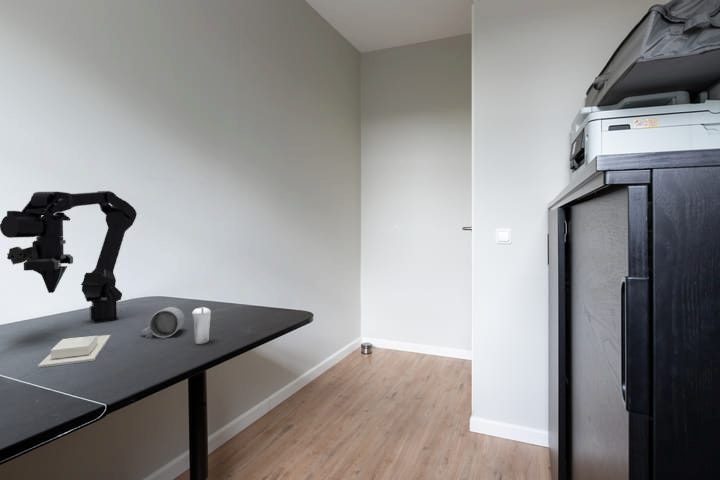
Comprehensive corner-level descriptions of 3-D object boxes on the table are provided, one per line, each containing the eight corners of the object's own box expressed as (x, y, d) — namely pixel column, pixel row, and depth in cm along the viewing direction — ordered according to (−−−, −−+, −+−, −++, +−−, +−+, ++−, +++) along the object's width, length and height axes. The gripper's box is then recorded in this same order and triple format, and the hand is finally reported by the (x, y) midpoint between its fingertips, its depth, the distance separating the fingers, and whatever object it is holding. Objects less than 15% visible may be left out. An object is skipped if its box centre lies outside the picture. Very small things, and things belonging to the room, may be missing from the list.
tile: (62, 339, 90) (50, 350, 82) (97, 335, 93) (88, 346, 85) (63, 348, 90) (50, 360, 82) (97, 344, 93) (88, 355, 85)
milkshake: (193, 346, 93) (192, 307, 93) (192, 340, 98) (191, 303, 97) (212, 344, 95) (211, 306, 95) (210, 338, 100) (209, 302, 99)
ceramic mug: (186, 328, 109) (185, 303, 109) (179, 337, 101) (178, 309, 101) (146, 331, 107) (146, 305, 106) (136, 340, 99) (135, 312, 98)
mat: (65, 341, 97) (65, 339, 97) (110, 336, 101) (110, 334, 101) (37, 367, 79) (37, 365, 79) (94, 360, 83) (94, 358, 83)
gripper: (25, 236, 106) (27, 289, 107) (-5, 238, 89) (-3, 301, 90) (73, 235, 111) (74, 286, 112) (53, 237, 94) (54, 297, 95)
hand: (51, 292), depth 102 cm, fingers closed
